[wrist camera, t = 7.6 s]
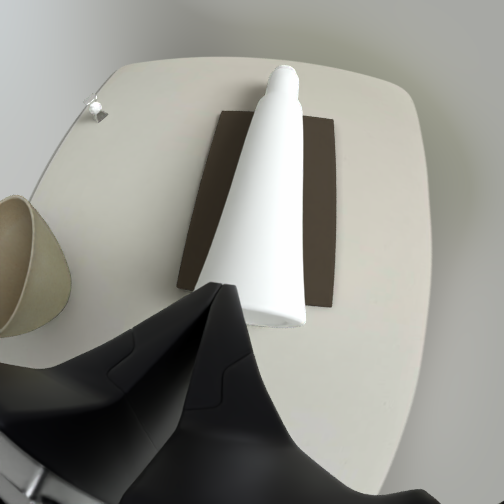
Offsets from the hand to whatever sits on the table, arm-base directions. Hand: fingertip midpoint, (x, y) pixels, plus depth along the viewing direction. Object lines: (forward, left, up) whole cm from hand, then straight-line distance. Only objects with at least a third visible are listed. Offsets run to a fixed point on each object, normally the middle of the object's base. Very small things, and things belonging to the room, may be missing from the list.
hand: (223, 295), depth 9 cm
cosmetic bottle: (0, 0, -6) cm, 6 cm away
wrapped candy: (-8, +26, -9) cm, 28 cm away
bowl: (-15, +8, -9) cm, 19 cm away
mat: (+5, +8, -9) cm, 13 cm away
